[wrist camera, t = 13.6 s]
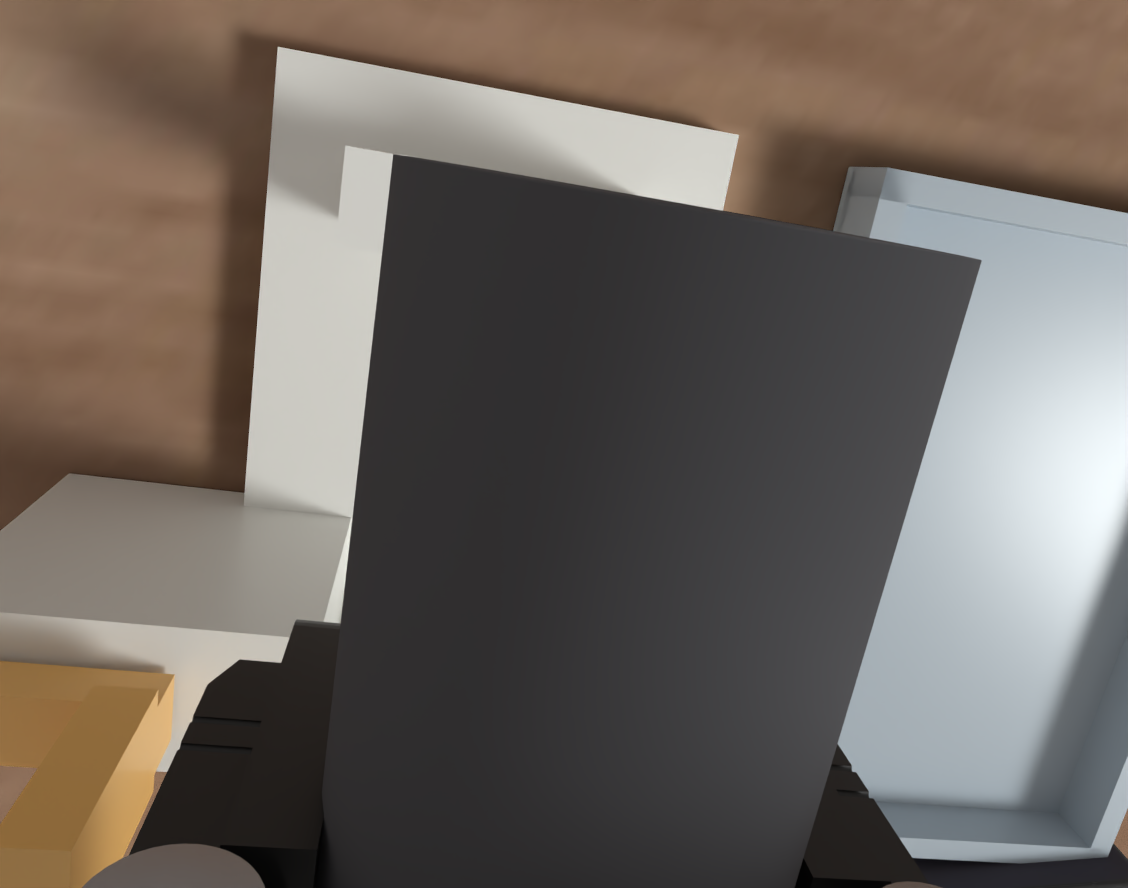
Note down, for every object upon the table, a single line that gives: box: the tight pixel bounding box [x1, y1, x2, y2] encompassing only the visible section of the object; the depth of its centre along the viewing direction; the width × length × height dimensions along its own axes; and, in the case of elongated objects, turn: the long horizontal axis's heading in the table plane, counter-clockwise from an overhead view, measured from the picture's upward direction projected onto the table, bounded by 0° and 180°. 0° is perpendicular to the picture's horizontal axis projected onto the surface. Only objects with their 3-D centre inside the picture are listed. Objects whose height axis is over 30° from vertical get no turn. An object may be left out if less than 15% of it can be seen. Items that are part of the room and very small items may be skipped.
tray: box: [833, 167, 1128, 864], centre depth 29 cm, size 22×15×2 cm
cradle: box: [0, 47, 739, 772], centre depth 23 cm, size 20×17×8 cm
